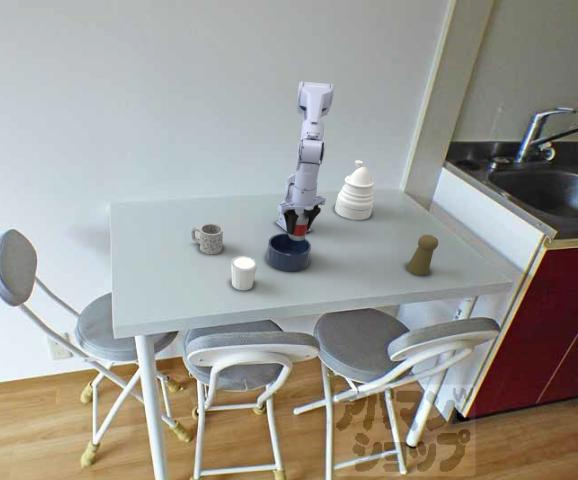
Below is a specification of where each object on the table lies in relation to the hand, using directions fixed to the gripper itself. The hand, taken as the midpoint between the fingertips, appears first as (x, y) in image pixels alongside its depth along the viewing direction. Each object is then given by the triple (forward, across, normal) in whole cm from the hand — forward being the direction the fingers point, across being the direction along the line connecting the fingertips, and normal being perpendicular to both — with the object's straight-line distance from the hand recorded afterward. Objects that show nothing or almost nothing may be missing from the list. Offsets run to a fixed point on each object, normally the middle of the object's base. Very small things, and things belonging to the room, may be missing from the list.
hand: (297, 231), depth 119 cm
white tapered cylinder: (+10, -20, -4) cm, 22 cm away
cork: (+10, +31, -19) cm, 38 cm away
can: (+2, 0, 0) cm, 2 cm away
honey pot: (+10, +38, +18) cm, 43 cm away
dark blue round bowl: (+10, -2, +1) cm, 10 cm away
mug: (+10, -20, +17) cm, 28 cm away
